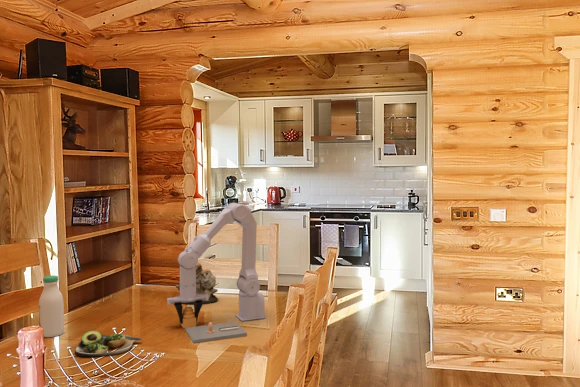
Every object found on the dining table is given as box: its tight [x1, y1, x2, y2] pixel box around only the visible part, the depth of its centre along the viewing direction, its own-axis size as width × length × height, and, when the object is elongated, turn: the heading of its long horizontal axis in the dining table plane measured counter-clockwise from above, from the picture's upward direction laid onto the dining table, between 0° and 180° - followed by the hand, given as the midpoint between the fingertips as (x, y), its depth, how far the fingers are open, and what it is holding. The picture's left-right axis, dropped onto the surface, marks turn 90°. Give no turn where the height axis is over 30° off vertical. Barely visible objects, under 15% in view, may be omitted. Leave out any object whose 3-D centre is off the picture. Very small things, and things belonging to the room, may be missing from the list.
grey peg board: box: [185, 321, 248, 344], centre depth 167 cm, size 18×14×4 cm
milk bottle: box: [38, 275, 65, 338], centre depth 167 cm, size 8×8×20 cm
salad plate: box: [74, 329, 143, 358], centre depth 155 cm, size 19×18×5 cm
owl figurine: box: [175, 261, 219, 306], centre depth 210 cm, size 18×12×17 cm, turn 94°
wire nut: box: [180, 306, 197, 329], centre depth 176 cm, size 5×5×7 cm
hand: (188, 322), depth 176 cm, fingers closed on wire nut, 5 cm apart
